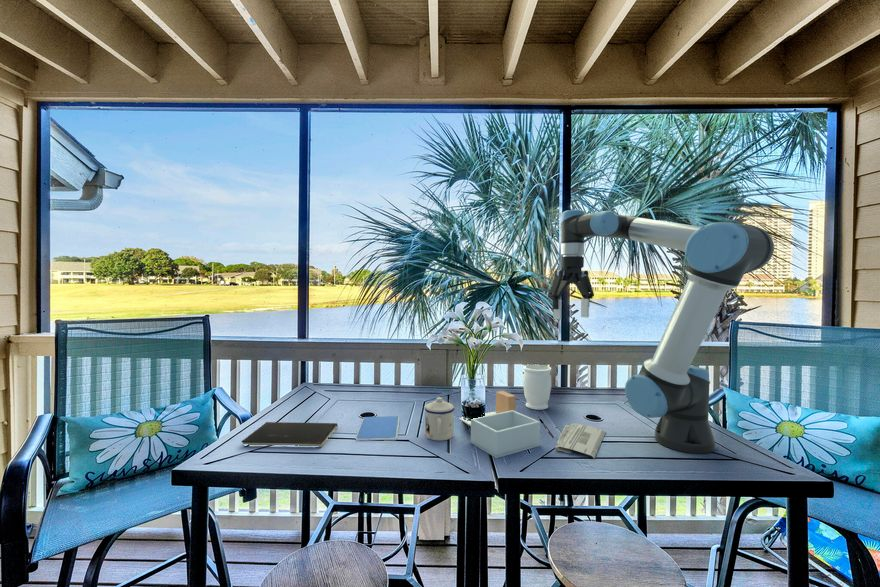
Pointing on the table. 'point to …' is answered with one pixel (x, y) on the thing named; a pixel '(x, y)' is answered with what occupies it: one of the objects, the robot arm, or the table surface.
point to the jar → (537, 386)
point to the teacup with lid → (439, 420)
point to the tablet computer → (378, 428)
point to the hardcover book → (291, 434)
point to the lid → (500, 404)
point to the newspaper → (580, 439)
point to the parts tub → (505, 433)
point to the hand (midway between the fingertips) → (571, 318)
